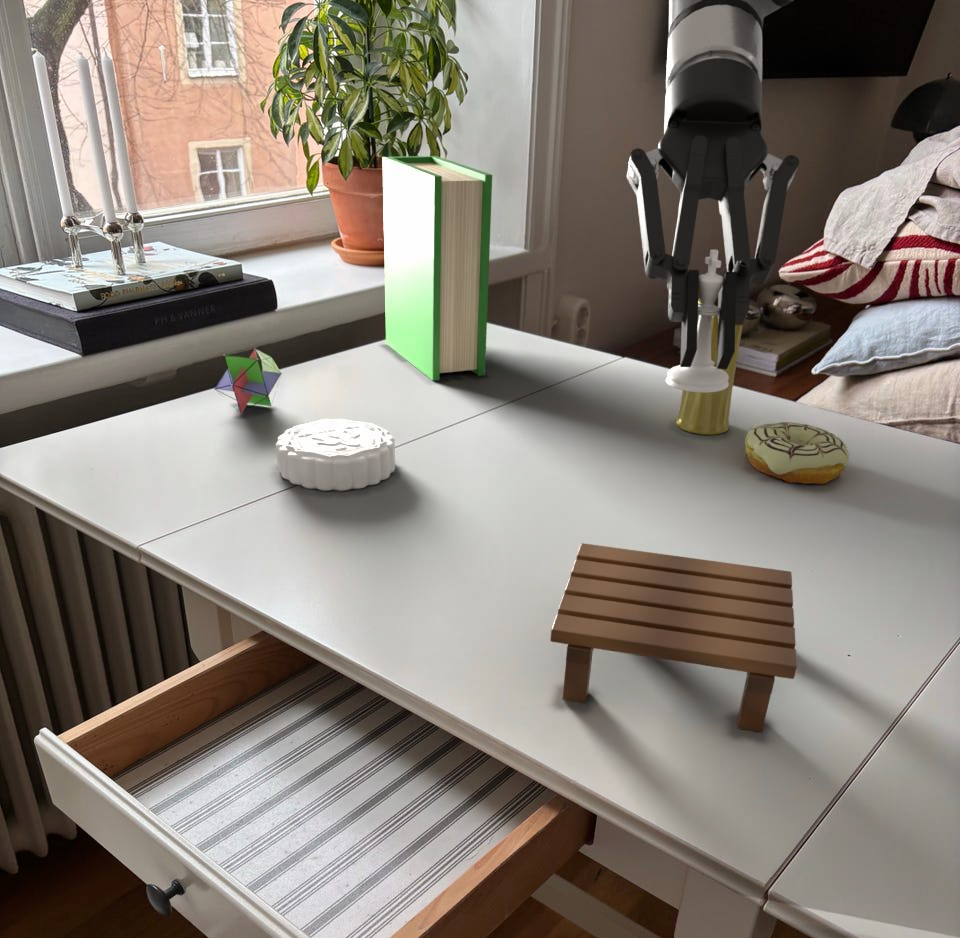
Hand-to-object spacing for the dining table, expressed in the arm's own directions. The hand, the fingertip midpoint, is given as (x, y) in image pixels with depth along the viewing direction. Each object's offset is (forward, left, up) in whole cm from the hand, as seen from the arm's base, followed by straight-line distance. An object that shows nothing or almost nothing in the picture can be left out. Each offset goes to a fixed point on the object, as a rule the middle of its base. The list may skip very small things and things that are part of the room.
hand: (707, 358), depth 74 cm
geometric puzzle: (+51, -28, -19) cm, 62 cm away
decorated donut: (-11, -29, -19) cm, 37 cm away
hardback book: (+36, -54, -19) cm, 68 cm away
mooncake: (+35, -14, -19) cm, 43 cm away
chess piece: (0, -4, -3) cm, 5 cm away
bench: (-1, +13, -19) cm, 23 cm away
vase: (-1, -39, -19) cm, 44 cm away
